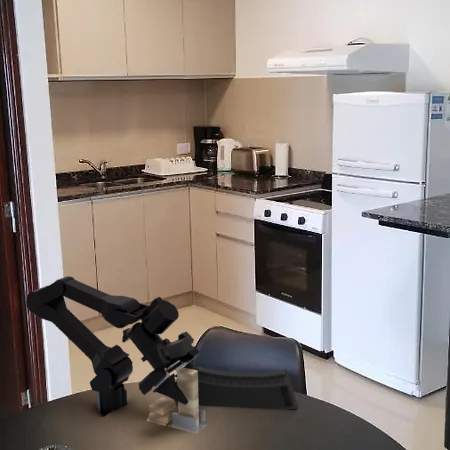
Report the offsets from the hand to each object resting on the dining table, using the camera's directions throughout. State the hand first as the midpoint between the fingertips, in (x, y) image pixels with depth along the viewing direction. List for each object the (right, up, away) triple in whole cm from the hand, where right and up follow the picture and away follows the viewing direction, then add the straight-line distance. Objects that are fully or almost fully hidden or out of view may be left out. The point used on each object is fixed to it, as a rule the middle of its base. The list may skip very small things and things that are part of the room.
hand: (193, 398), depth 149 cm
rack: (-1, -7, +2) cm, 8 cm away
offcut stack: (-7, -7, +5) cm, 11 cm away
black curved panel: (+10, -6, +12) cm, 16 cm away
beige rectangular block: (-1, -6, +2) cm, 7 cm away
